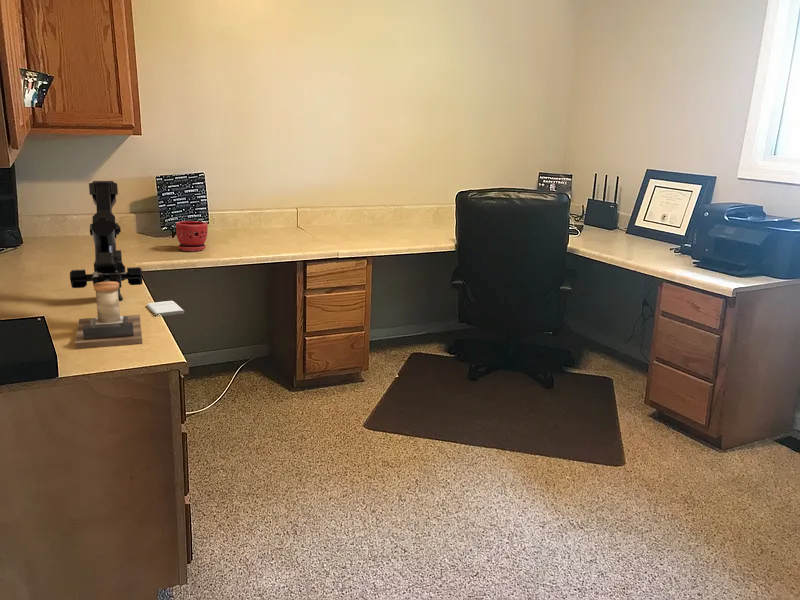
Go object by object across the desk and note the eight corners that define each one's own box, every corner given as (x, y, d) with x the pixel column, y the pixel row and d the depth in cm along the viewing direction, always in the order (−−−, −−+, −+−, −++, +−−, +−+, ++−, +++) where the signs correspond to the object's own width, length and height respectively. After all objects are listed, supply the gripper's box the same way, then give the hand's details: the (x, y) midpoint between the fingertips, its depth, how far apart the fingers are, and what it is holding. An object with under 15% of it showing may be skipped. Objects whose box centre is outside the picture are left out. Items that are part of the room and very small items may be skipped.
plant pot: (207, 252, 296) (206, 224, 293) (175, 252, 293) (174, 224, 290) (209, 246, 308) (208, 220, 305) (178, 246, 306) (177, 220, 302)
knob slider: (96, 320, 191) (92, 281, 188) (123, 319, 194) (120, 280, 191) (95, 328, 185) (91, 288, 182) (123, 326, 188) (120, 286, 185)
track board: (79, 323, 194) (79, 318, 194) (140, 319, 200) (139, 314, 199) (75, 348, 174) (74, 343, 174) (142, 343, 180) (142, 337, 180)
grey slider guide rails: (86, 321, 191) (85, 311, 191) (132, 318, 196) (131, 308, 195) (83, 339, 177) (82, 328, 176) (133, 336, 181) (132, 325, 180)
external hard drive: (156, 318, 204) (146, 307, 214) (184, 315, 208) (173, 304, 218) (156, 313, 203) (146, 302, 213) (184, 310, 208) (173, 299, 218)
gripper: (67, 241, 188) (68, 290, 181) (139, 239, 195) (143, 286, 188) (71, 263, 197) (72, 310, 190) (140, 261, 204) (144, 306, 197)
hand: (108, 303), depth 191 cm, fingers closed, pressing on knob slider
